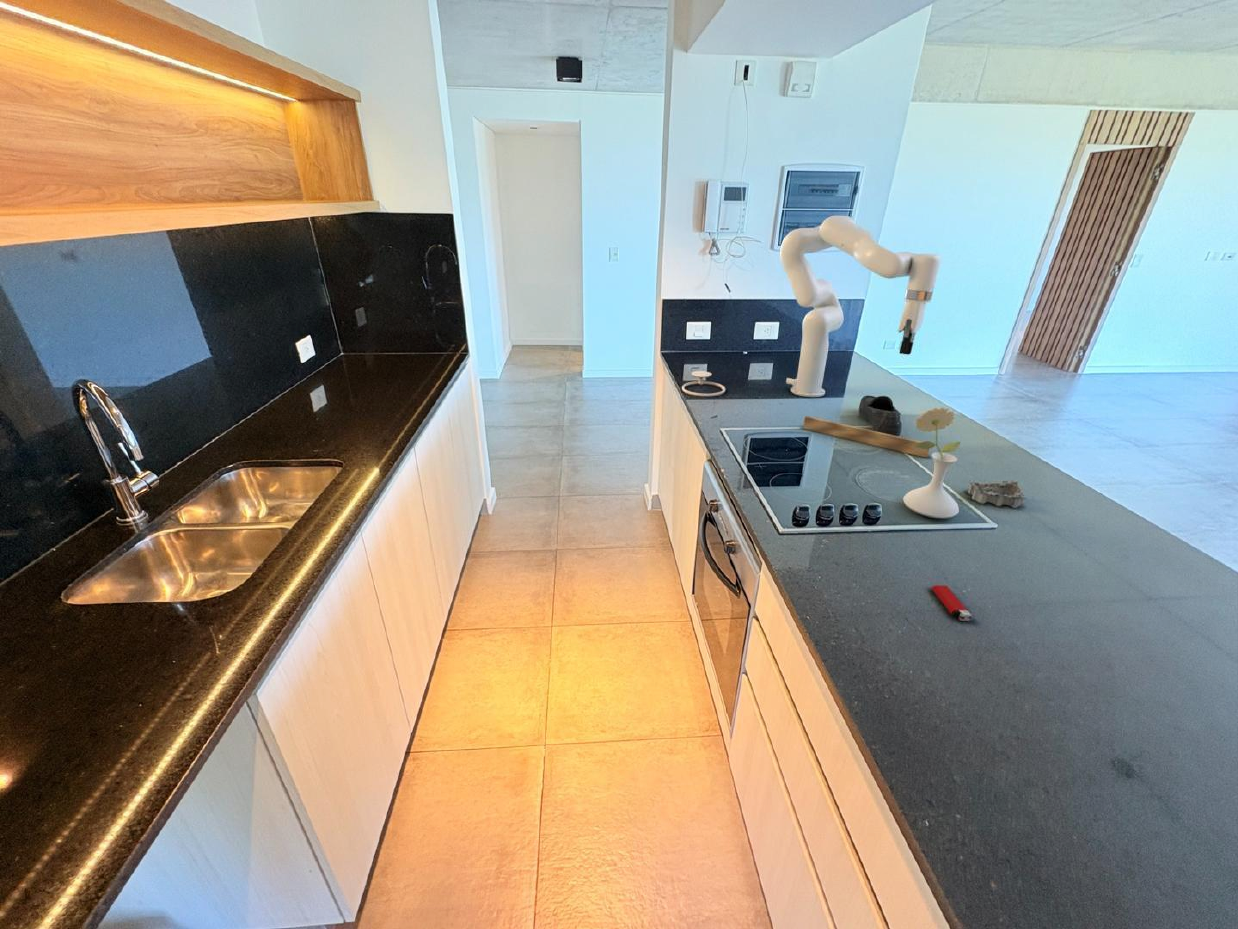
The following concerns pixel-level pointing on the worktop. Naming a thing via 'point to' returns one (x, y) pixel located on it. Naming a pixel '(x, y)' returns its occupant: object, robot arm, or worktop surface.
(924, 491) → the flower in vase
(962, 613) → the lighter
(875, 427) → the loafer
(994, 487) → the egg carton
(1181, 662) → the worktop surface
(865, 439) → the long wooden plank
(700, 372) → the hand towel holder
